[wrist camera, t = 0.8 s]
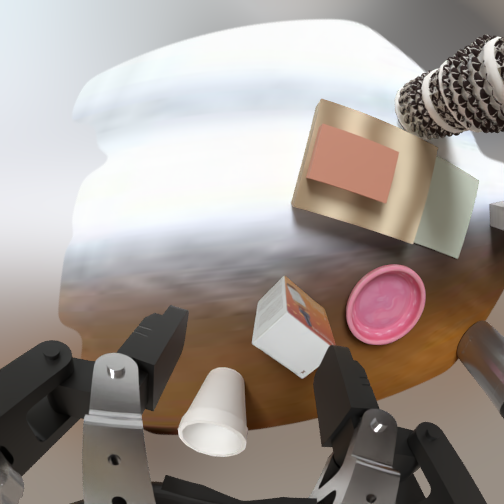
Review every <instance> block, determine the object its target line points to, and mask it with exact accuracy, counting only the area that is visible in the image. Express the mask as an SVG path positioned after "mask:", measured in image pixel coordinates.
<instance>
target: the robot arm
mask: <svg viewBox="0 0 504 504" xmlns="http://www.w3.org/2000/svg"><path fill="white" fill-rule="evenodd" d="M188 314H189V312H188V310H185V309H182V308H178V307H175V306H172V305H170V306H169V307H168V309H167V310H166V311H165V313H164V314H163V315H159V314H156V313H154V314H152V315H150V316H148V317H145V318H144V320H143V321H142V322H141V323H140V324H139V326H138V327H137V328H136V329H135V330H134V332H133V333H132V334H131V335H130V337H129V338H128V339H127V340H126V341H125V343H124V344H123V345H122V346H121V348H120V349H119V350H118V351H117V353H108V354H105V355H102V356H100V357H99V358H98V359H97V360H96V361H88V360H83V359H77V358H73V357H72V353H71V350H70V349H69V347H68V346H67V345H66V344H64V343H62V342H59V341H53V340H51V341H45V342H42V343H40V344H38V345H37V346H35V347H34V348H32V349H31V350H29V351H27V352H26V353H24V354H23V355H21V356H20V357H18V358H17V359H15V360H14V361H12V362H11V363H9V364H8V365H6V366H5V367H3V368H2V369H0V504H18V502H19V499H20V498H21V497H22V496H23V492H24V483H23V480H22V476H23V475H24V474H25V472H27V471H28V470H29V469H30V467H32V466H33V465H34V464H35V463H36V462H37V461H38V460H39V459H40V457H42V456H43V455H44V454H45V453H46V452H47V451H48V450H49V449H50V448H51V447H52V446H53V445H54V444H55V443H56V442H57V441H58V440H59V439H60V438H61V437H62V436H63V435H64V434H65V433H66V432H67V431H68V430H69V429H70V428H71V427H72V426H73V425H74V424H75V423H76V422H77V421H78V420H79V419H80V418H83V419H84V424H83V425H84V426H83V447H82V448H83V449H82V473H83V494H84V499H83V500H80V501H77V502H74V503H71V504H487V503H486V501H485V499H484V498H483V496H482V494H481V492H480V491H479V489H478V487H477V486H476V484H475V482H474V480H473V479H472V477H471V475H470V474H469V472H468V471H467V469H466V467H465V466H464V464H463V462H462V461H461V459H460V458H459V456H458V455H457V453H456V451H455V450H454V448H453V447H452V445H451V444H450V442H449V441H448V439H447V437H446V436H445V434H444V433H443V431H442V430H441V429H440V428H439V427H438V426H437V425H435V424H433V423H429V422H423V423H421V424H419V425H418V426H417V427H416V429H415V430H414V431H413V430H409V429H405V428H401V427H397V423H396V421H395V419H394V418H393V416H391V415H390V414H389V413H388V412H385V411H383V410H381V409H379V406H378V404H377V401H376V398H375V396H374V393H373V390H372V388H371V386H370V383H369V380H368V379H367V378H368V377H367V375H366V372H365V370H364V368H363V367H362V366H361V365H360V364H359V363H358V362H357V361H355V360H353V358H352V355H351V353H350V350H349V348H347V347H341V346H335V345H330V346H329V347H328V349H327V351H326V353H325V355H324V357H323V359H322V361H321V364H320V366H319V368H318V370H317V372H316V374H315V377H314V384H313V385H314V393H315V400H316V407H317V414H318V421H319V428H320V436H321V444H322V447H333V453H332V454H331V455H330V456H329V458H328V460H327V462H326V465H325V467H324V469H323V471H322V473H321V475H320V478H319V480H318V482H317V484H316V486H315V488H314V490H313V492H312V493H311V495H310V496H309V498H287V497H280V498H272V499H263V500H253V501H241V500H238V499H235V498H233V497H230V496H227V495H225V494H222V493H220V492H218V491H215V490H213V489H211V488H208V487H206V486H204V485H200V484H196V483H192V482H188V481H184V480H181V479H178V478H174V477H171V476H168V475H166V476H165V479H164V482H151V478H150V473H149V467H148V461H147V455H146V448H145V441H144V433H143V424H142V418H141V415H142V413H143V411H144V409H148V410H151V411H154V409H155V407H156V405H157V403H158V401H159V399H160V396H161V394H162V392H163V390H164V388H165V386H166V384H167V382H168V380H169V378H170V376H171V374H172V372H173V370H174V367H175V365H176V363H177V361H178V359H179V357H180V355H181V353H182V350H183V346H184V341H185V334H186V327H187V321H188ZM457 356H458V358H459V359H460V361H461V362H462V363H463V364H464V366H465V367H466V368H467V369H468V371H469V372H470V373H471V375H472V376H473V377H474V379H475V380H476V381H477V382H478V384H479V385H480V386H481V388H482V389H483V390H484V392H485V393H486V395H487V396H488V397H489V399H490V400H491V401H492V403H493V404H494V405H495V407H496V408H497V410H498V411H499V413H500V414H501V416H502V417H503V418H504V337H503V336H502V335H501V334H500V333H499V332H498V331H497V330H496V329H494V328H493V327H492V326H491V325H490V324H489V323H488V322H486V321H480V322H477V323H476V324H474V325H473V326H472V327H470V328H469V329H468V330H467V332H466V333H465V334H464V336H463V337H462V339H461V341H460V343H459V345H458V349H457ZM420 467H421V469H422V471H423V473H424V475H425V477H426V478H427V480H428V482H429V484H430V486H431V493H430V495H429V496H428V497H427V498H425V496H424V494H423V492H422V490H421V488H420V486H419V484H418V482H417V480H416V478H415V476H414V474H413V473H414V472H415V471H417V470H418V469H419V468H420Z"/></svg>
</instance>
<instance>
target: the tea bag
mask: <svg viewBox="0 0 504 504" xmlns="http://www.w3.org/2000/svg"><path fill="white" fill-rule="evenodd" d="M490 226H492V227H495V228H498V229H501V230H504V201H501V202H496V203H491V204H490Z"/></svg>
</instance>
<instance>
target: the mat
mask: <svg viewBox="0 0 504 504" xmlns="http://www.w3.org/2000/svg"><path fill="white" fill-rule="evenodd" d="M478 184H479V180H477V179H476V178H474V177H473V176H471V175H469V174H468V173H466V172H465V171H463V170H461V169H460V168H458V167H456V166H454V165H453V164H451V163H449V162H447V161H446V160H444V159H442V158H440V157H438V156H437V155H436V160H435V165H434V170H433V175H432V179H431V183H430V187H429V191H428V195H427V199H426V203H425V206H424V210H423V213H422V217H421V220H420V224H419V227H418V230H417V233H416V236H415V239H414V242H415V243H417V244H420V245H423V246H426V247H428V248H431V249H434V250H436V251H439V252H441V253H444V254H447V255H449V256H452V257H454V258H457V259H458V257H459V254H460V251H461V248H462V245H463V242H464V239H465V236H466V232H467V229H468V225H469V222H470V218H471V214H472V211H473V207H474V203H475V198H476V194H477V189H478Z"/></svg>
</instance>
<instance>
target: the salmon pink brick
mask: <svg viewBox="0 0 504 504" xmlns="http://www.w3.org/2000/svg"><path fill="white" fill-rule="evenodd" d="M398 156H399V152H398V151H395V150H393V149H391V148H388V147H386V146H384V145H381V144H379V143H376V142H374V141H371V140H369V139H366V138H363V137H361V136H358V135H355V134H353V133H350V132H347V131H344V130H341V129H338V128H335V127H332V126H329V125H326V124H322V125H321V126H320V127H319V129H318V133H317V137H316V141H315V145H314V149H313V153H312V157H311V160H310V164H309V168H308V172H307V176H306V178H308V179H312V180H315V181H319V182H322V183H325V184H328V185H331V186H335V187H338V188H341V189H344V190H347V191H350V192H353V193H356V194H359V195H362V196H365V197H368V198H370V199H373V200H376V201H379V202H382V203H387V199H388V196H389V192H390V188H391V184H392V181H393V177H394V173H395V168H396V164H397V160H398Z"/></svg>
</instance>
